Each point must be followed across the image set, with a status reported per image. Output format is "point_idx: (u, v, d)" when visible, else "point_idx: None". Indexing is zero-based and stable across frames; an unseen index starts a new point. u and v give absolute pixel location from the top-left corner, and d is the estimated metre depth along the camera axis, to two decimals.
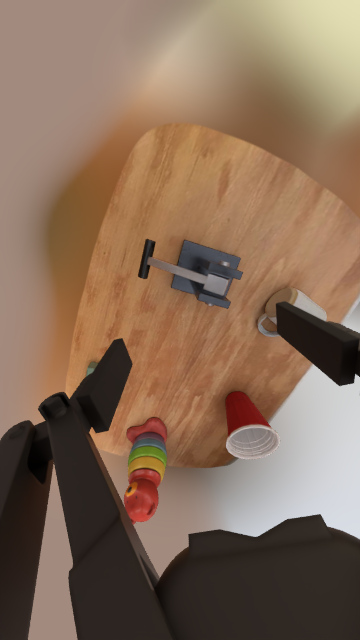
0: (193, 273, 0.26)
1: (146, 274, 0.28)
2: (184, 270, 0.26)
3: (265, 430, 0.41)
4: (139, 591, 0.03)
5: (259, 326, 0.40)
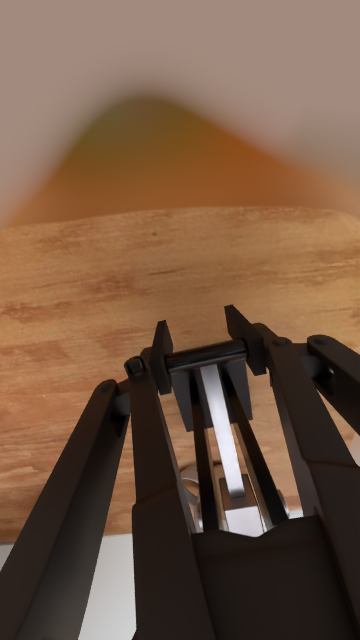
0: (236, 467, 0.12)
1: (178, 372, 0.13)
2: (232, 447, 0.12)
3: None
4: (186, 560, 0.04)
5: (183, 478, 0.29)
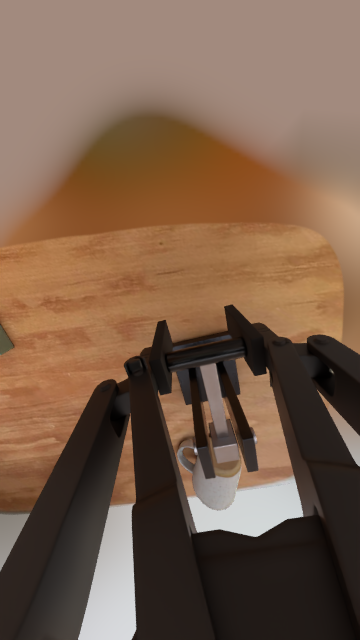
0: (224, 424, 0.16)
1: None
2: (222, 414, 0.16)
3: None
4: (186, 560, 0.04)
5: (183, 447, 0.34)
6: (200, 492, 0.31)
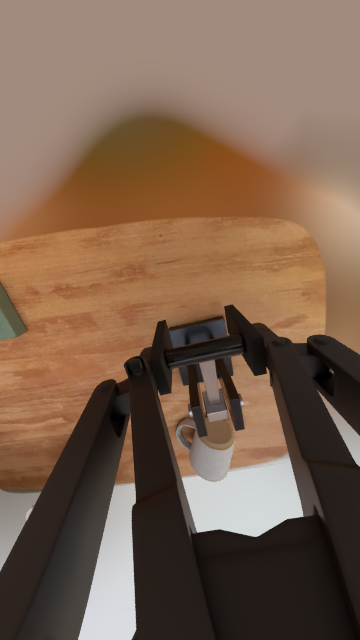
0: (217, 397, 0.18)
1: None
2: (216, 392, 0.17)
3: None
4: (186, 560, 0.04)
5: (181, 426, 0.36)
6: (196, 466, 0.34)
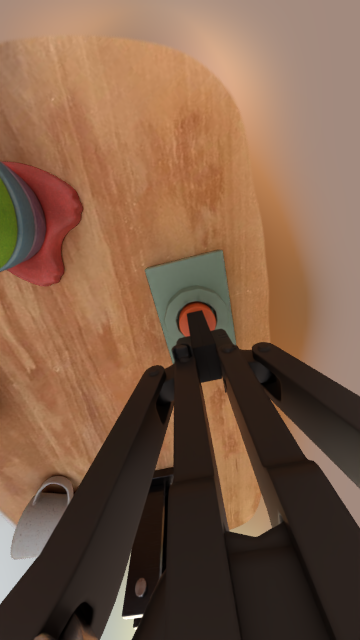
0: None
1: None
2: None
3: None
4: (218, 558, 0.04)
5: None
6: (24, 533, 0.29)
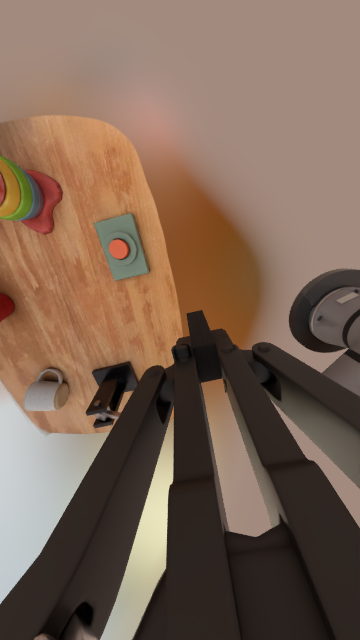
0: (112, 417, 0.42)
1: None
2: (116, 418, 0.41)
3: None
4: (218, 558, 0.04)
5: (56, 373, 0.52)
6: (31, 393, 0.48)
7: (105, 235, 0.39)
